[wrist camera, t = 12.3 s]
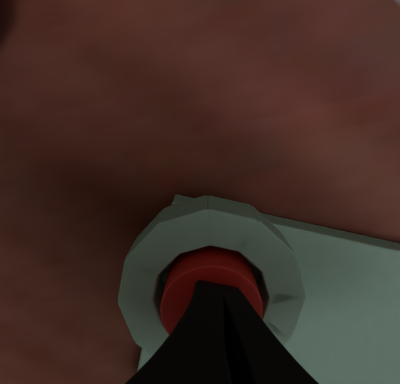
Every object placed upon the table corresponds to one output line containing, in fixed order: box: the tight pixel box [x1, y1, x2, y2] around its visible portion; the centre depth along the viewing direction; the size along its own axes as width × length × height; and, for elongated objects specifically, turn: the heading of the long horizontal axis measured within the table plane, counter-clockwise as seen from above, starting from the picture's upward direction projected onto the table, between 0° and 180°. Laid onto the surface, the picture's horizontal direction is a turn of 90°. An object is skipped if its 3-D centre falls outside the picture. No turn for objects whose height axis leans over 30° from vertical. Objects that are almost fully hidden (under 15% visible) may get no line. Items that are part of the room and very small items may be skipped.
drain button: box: [160, 245, 263, 335], centre depth 10 cm, size 3×3×2 cm
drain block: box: [118, 195, 400, 384], centre depth 12 cm, size 13×10×3 cm
